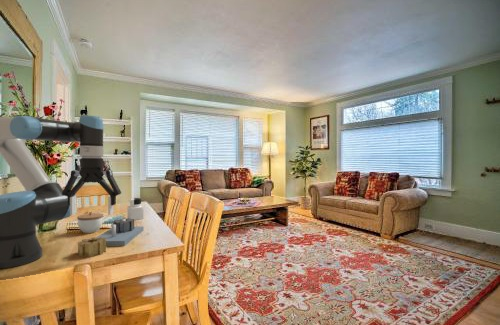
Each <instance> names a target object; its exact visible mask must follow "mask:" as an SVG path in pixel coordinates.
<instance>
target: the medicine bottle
mask: <svg viewBox="0 0 500 325" xmlns="http://www.w3.org/2000/svg"><path fill="white" fill-rule="evenodd" d="M144 210H145V209H144V206H142V199H141V198H140V197H133V198H130V199H129V206H127V211H126V212H127V213H126V214H127V218H131V219H134V221H139V220H143V219H144V216H145V215H144V214H145V213H144Z"/></svg>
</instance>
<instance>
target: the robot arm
mask: <svg viewBox="0 0 500 325" xmlns="http://www.w3.org/2000/svg"><path fill="white" fill-rule="evenodd" d="M104 130H105V128H104V120H103V118H102V117H100V116H96V115H89V114H88V115H85V114H84V115H80V117H79V120H78V121H76V122H75V121H65V120H64V121H63V120H58V119H57V120H55V119H47V118H41V117H34V116H30V115H16V116H15V117H13V116H12V117H11V116H10V117H9V116H8V117H7V116H0V155H1V156H2V158H3V159H4V161H5V162H6V163H7V165H8V167H9V168H10V169H11V171H12V172H13V173H14V175H15V177H16V178H17V179H18V180H19V182H20V184H21V186H23V188H24V189H25V190H20V191H14V192H13V191H12V192H7V193H4V194H0V270H1V268H2V269H9V268H13V267H14V268H15V267H19V266H23V265H26V264H29V263H32V262H35V261H37V260H38V259H40V258H41V257H42V256H43V247H41V243H40V242H39V239H38V237H37V232H36V230H37V227H36V226H38V225H44V224H46V223H52V222H56V221H61V220H63V219H66V218H69V217H71V216H74V215H76V214H77V203H78V201H77V196H76V194H77V192H79V190H80V189H82V187H83V186H84V185H85V184H86V183H87V184H89V183H92V184H93V183H98V184H99V185H100V186H101V187H102V188H103V189H104V191H105V192H106V193H107V194H108V197H107V210H108V211H107V212H108V216H109V215H113V214H114V213H115V212H114V207H115V205H116V203H117V196H119V195H121V194H122V191H121V189H120V187H119V185H118V183H117V181H116V179H115V177H114V176H113V175H114V174H113V170H111V169H109V170H104V158H103V157H104ZM28 140H30V141H31V140H33V141H48V142H51V141H52V142H59V143H79V156H80V159H79V168H80V170H78V169H77V170H71V171H70V177H69V178H68V181H67V183H66V184H65V186H64V188H62V186H61V185H60V183H58V182H55V181H52V180H51V178H50V177H49V175H48V174H47V173H46V172H45V170H44V169H43V167H42V166H41V165H40V163H39V162H38V160H37V159H36V157H35V156H34V155H33V154H32V152H31V151H30V149H29V148H28V147H27V145H26V143H27V141H28ZM79 176H80V178H79ZM104 176H105V177H106V179H107V181H108V182H106V179H104ZM78 178H79V179H78ZM77 179H78V182H77V183H76V181H77ZM75 183H76V184H75ZM108 183H109V184H108Z"/></svg>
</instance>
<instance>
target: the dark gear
mask: <svg viewBox="0 0 500 325" xmlns="http://www.w3.org/2000/svg"><path fill="white" fill-rule="evenodd" d="M122 219H123V218H119V219H115V220H113V221H112V225H116V233H120V232H124V233H125V232H127V231H133V229H134V227H135V220H134V219H131V218H128V217H127V218H124V219H125V220H126V221H122Z"/></svg>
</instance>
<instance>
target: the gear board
mask: <svg viewBox="0 0 500 325" xmlns="http://www.w3.org/2000/svg"><path fill="white" fill-rule="evenodd" d="M121 219H122V221H126V220H125V219H126V218H121ZM143 231H144V226H143V225H142V226H140V225H139V226H134V229H133V231H127V232H125V233H124V232H120V233H116V225H113V224H111V228H110V229H108V230H106V231H104V232H103V233H101V234H99V235H98V236H95V237H96V238H100V237H104V239H106V247H125V246H127V244H129V243H130V242H132V240H134V239H135V238H136V237H137V236H139V235H140V234H141V233H142V232H143Z"/></svg>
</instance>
